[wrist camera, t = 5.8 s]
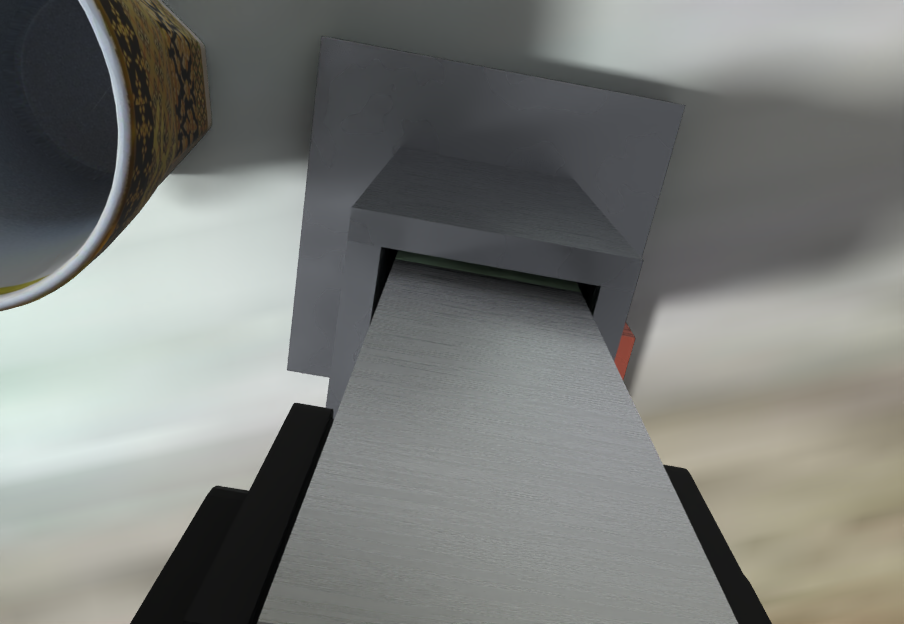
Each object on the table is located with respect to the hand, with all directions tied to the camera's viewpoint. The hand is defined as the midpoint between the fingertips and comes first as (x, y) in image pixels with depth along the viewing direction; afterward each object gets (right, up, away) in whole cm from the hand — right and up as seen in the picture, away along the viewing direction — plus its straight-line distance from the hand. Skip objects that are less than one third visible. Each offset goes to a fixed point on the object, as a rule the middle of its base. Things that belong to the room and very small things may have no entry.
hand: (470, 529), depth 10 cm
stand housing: (0, +6, +16) cm, 17 cm away
